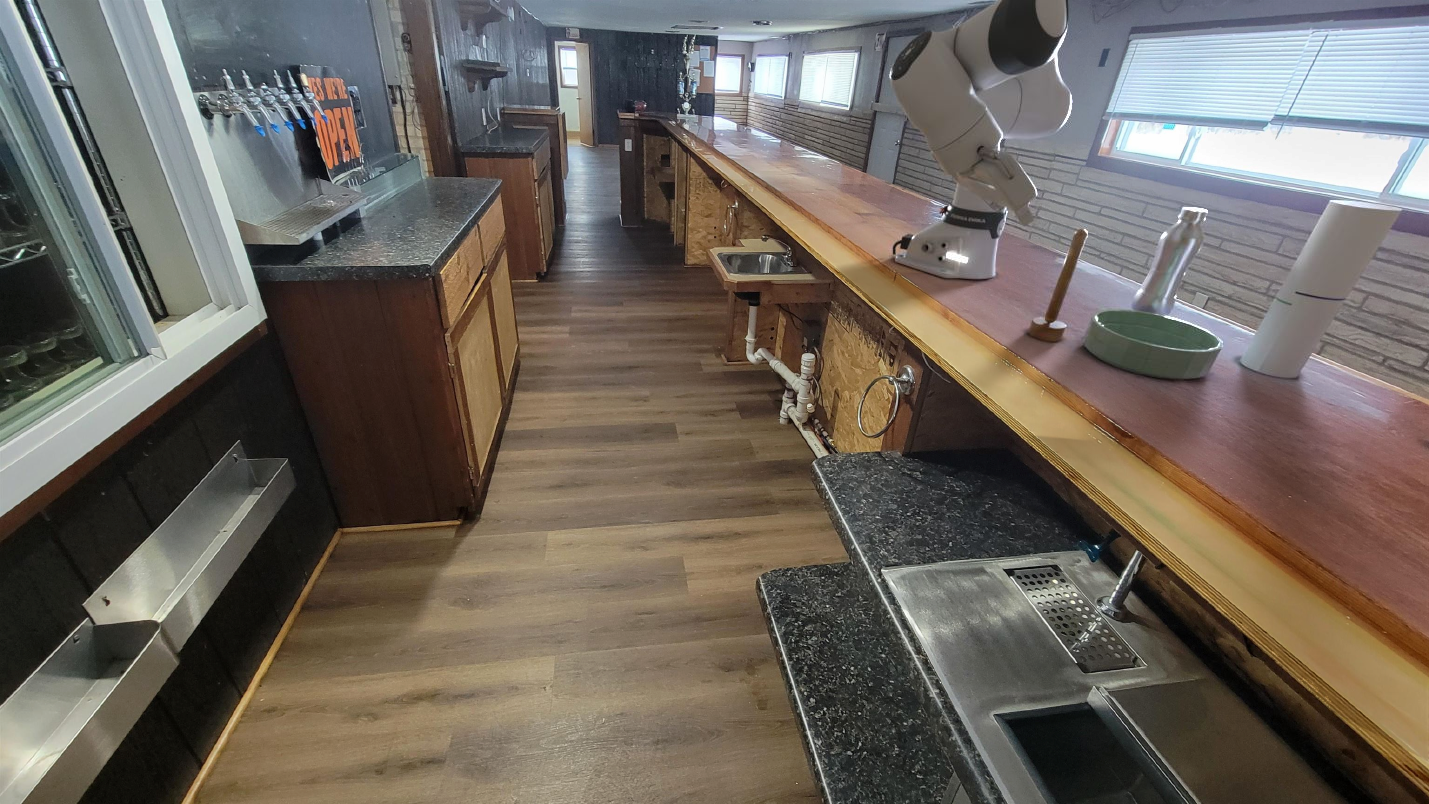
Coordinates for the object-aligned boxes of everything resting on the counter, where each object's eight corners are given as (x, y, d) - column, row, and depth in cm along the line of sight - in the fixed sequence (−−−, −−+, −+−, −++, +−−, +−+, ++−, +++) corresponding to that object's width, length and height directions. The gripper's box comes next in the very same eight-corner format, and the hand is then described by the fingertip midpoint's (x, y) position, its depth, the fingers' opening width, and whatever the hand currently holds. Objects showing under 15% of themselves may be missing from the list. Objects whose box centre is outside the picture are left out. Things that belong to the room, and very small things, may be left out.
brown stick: (1023, 334, 98) (1059, 228, 89) (1034, 327, 101) (1070, 223, 92) (1055, 344, 95) (1096, 234, 86) (1065, 336, 98) (1105, 230, 89)
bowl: (1067, 354, 91) (1078, 325, 89) (1097, 328, 102) (1108, 302, 99) (1197, 393, 81) (1213, 362, 78) (1215, 360, 92) (1230, 331, 89)
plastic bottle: (1154, 311, 111) (1201, 206, 102) (1174, 324, 106) (1227, 214, 96) (1120, 309, 112) (1164, 204, 102) (1139, 321, 106) (1188, 211, 96)
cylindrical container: (1285, 381, 86) (1390, 211, 73) (1231, 362, 91) (1320, 201, 79) (1306, 373, 89) (1411, 208, 76) (1252, 355, 94) (1342, 199, 82)
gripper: (1020, 134, 73) (1067, 215, 78) (961, 123, 91) (1003, 190, 96) (976, 169, 75) (1025, 246, 80) (927, 152, 93) (970, 216, 98)
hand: (1012, 215), depth 88 cm, fingers open, 8 cm apart
